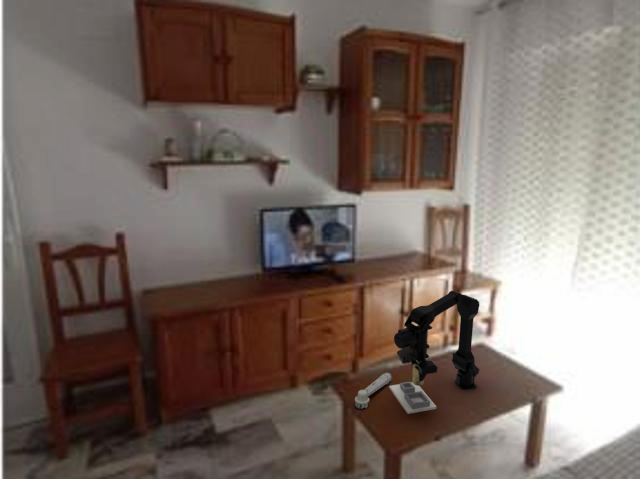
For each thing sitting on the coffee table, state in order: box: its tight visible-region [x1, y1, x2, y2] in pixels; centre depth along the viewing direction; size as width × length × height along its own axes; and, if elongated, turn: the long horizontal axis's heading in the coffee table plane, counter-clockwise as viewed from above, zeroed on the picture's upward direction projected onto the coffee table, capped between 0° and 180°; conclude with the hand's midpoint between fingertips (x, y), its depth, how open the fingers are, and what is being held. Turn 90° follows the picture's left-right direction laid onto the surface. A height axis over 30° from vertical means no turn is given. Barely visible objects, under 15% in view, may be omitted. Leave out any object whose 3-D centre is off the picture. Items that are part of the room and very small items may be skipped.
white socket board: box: [388, 381, 437, 415], centre depth 178 cm, size 12×18×3 cm, turn 14°
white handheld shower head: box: [354, 372, 393, 410], centre depth 181 cm, size 5×7×25 cm
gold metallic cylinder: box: [412, 361, 425, 387], centre depth 170 cm, size 4×4×8 cm
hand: (418, 378), depth 171 cm, fingers closed on gold metallic cylinder, 4 cm apart
